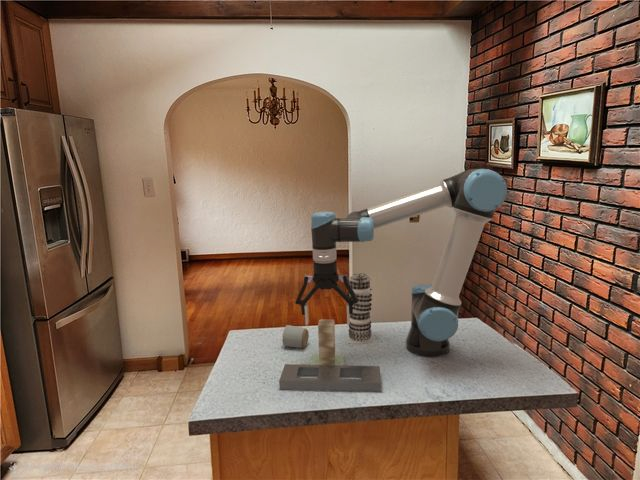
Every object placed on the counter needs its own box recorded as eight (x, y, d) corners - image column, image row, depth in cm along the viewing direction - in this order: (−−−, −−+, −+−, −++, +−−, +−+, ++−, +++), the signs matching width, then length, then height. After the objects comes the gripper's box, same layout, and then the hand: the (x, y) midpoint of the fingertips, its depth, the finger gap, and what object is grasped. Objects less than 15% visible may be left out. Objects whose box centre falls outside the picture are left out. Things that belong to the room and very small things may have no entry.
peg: (335, 358, 141) (334, 319, 138) (334, 365, 136) (333, 325, 133) (320, 358, 141) (319, 319, 139) (319, 365, 136) (318, 325, 134)
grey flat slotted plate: (379, 374, 130) (379, 366, 130) (381, 392, 121) (381, 382, 120) (285, 372, 133) (284, 364, 133) (279, 389, 123) (279, 380, 123)
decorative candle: (347, 333, 162) (346, 271, 158) (371, 333, 162) (371, 271, 157) (347, 343, 153) (346, 278, 149) (373, 343, 153) (372, 278, 148)
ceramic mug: (303, 351, 148) (303, 331, 147) (282, 349, 150) (281, 329, 149) (312, 339, 158) (311, 320, 157) (291, 338, 160) (291, 319, 159)
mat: (344, 355, 144) (344, 354, 144) (343, 371, 133) (343, 370, 133) (312, 355, 145) (312, 354, 145) (309, 371, 134) (309, 369, 134)
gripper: (284, 264, 130) (288, 328, 134) (364, 262, 127) (366, 327, 131) (288, 258, 137) (291, 319, 141) (364, 257, 135) (365, 318, 139)
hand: (327, 323), depth 136 cm, fingers open, 13 cm apart
